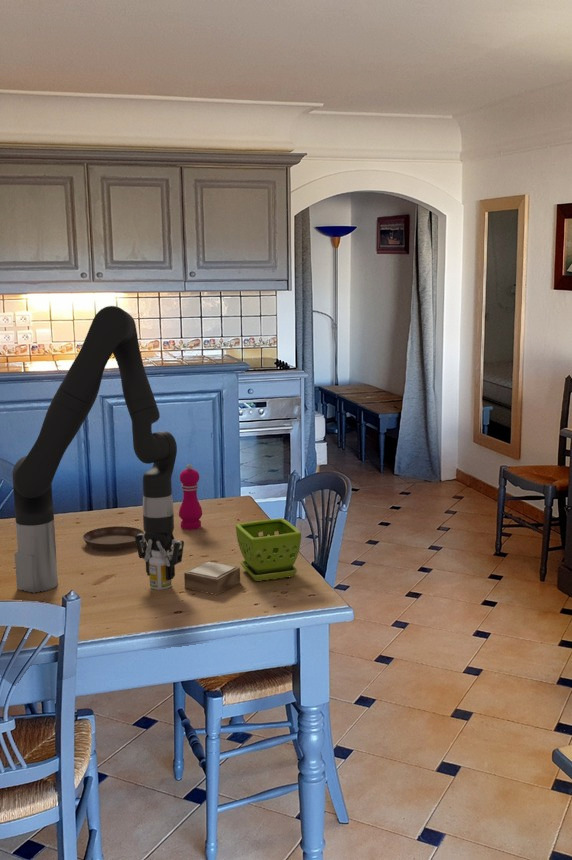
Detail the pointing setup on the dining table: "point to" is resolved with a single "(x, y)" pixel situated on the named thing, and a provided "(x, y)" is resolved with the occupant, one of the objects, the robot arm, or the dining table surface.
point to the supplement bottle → (158, 571)
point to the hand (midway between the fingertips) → (160, 576)
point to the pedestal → (212, 577)
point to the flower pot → (268, 548)
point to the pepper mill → (190, 500)
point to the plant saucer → (112, 538)
